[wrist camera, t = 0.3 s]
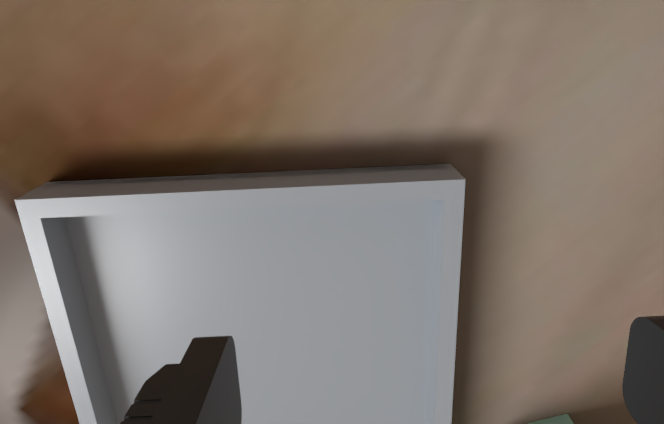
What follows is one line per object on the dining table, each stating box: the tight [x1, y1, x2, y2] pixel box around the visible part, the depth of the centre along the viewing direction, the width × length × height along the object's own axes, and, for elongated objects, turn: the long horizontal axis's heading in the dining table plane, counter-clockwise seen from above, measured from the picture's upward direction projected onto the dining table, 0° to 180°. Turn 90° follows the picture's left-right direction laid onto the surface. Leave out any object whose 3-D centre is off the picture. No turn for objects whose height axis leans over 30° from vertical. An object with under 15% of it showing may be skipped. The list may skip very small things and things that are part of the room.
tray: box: [15, 163, 466, 424], centre depth 29 cm, size 22×22×3 cm
